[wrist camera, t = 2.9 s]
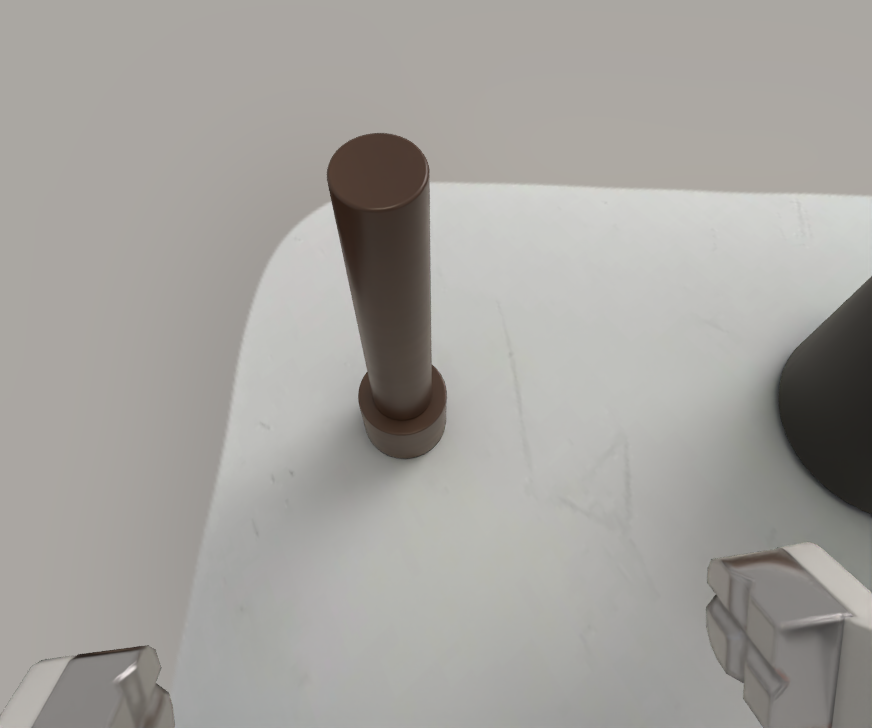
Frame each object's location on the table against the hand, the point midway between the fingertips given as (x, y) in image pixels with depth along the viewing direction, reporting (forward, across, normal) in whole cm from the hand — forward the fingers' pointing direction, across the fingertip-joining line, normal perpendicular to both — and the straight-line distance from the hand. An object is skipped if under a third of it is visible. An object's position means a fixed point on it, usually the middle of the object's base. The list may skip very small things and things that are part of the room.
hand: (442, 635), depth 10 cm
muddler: (+20, 0, +5) cm, 20 cm away
